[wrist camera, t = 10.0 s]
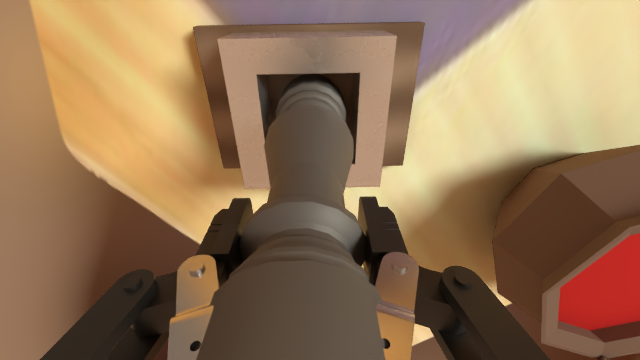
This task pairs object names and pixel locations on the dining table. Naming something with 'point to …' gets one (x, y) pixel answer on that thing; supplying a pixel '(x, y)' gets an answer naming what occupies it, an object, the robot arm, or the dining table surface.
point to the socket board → (401, 78)
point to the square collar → (308, 58)
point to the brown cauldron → (576, 251)
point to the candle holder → (300, 247)
